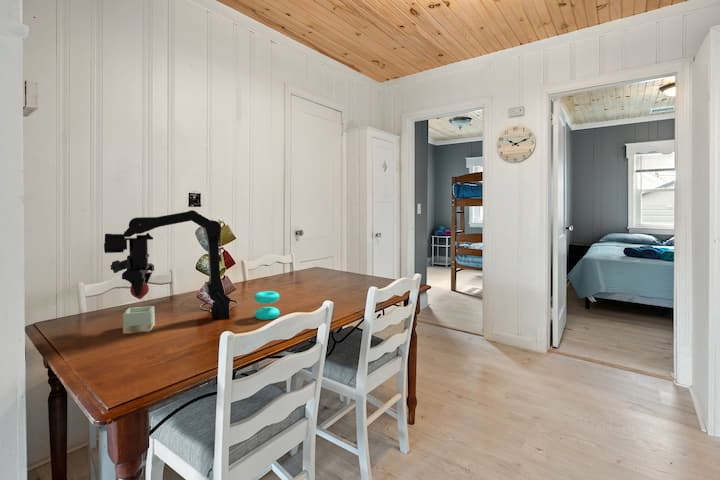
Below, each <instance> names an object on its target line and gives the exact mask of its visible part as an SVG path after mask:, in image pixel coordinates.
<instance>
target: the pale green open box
mask: <svg viewBox="0 0 720 480" xmlns="http://www.w3.org/2000/svg"><path fill="white" fill-rule="evenodd" d="M154 318H155V319H156V317H155V305H152V306H151V305H150V306H138V307H128V308H127V309H126V310H125V311H124V313H122V325H123V326H122V328H123V327H124V326H136V325H147V324H151V323H152V321H153V320H154Z"/></svg>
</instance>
